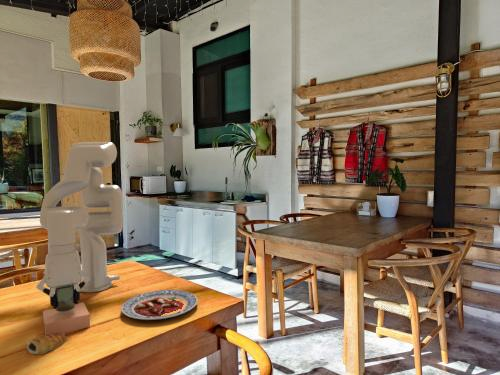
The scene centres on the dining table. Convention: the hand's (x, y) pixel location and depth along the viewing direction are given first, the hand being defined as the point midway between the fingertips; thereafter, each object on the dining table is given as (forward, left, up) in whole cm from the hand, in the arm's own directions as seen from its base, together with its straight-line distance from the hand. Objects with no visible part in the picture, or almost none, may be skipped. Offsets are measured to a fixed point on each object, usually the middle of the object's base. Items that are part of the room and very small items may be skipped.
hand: (65, 304), depth 112 cm
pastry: (+7, +13, -7) cm, 16 cm away
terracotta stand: (0, 0, -6) cm, 6 cm away
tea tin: (0, 0, -1) cm, 1 cm away
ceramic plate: (-29, +5, -7) cm, 30 cm away
